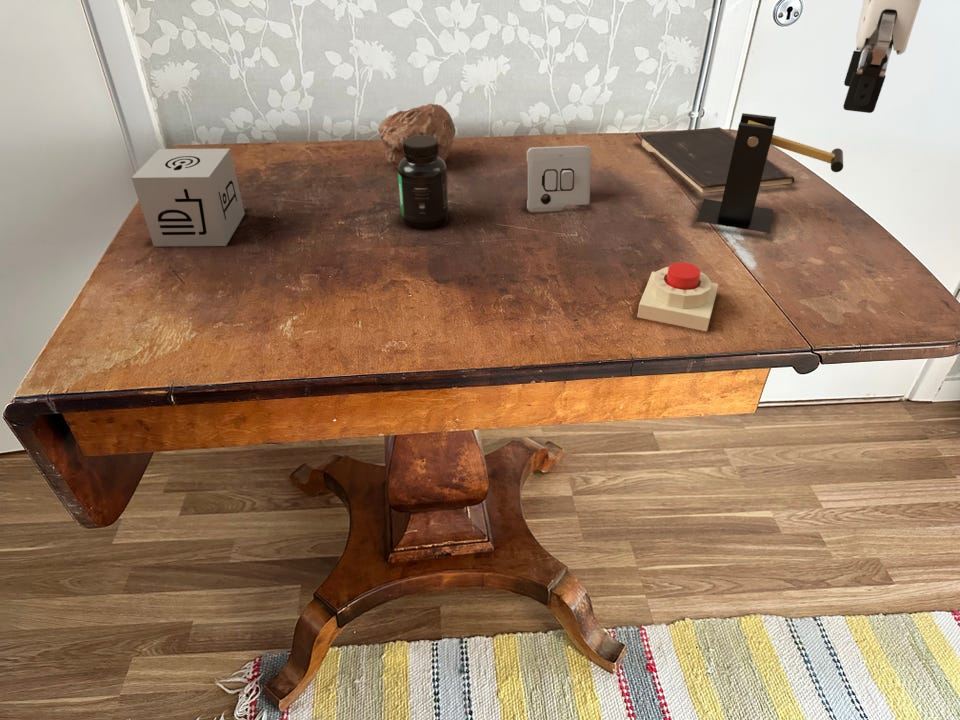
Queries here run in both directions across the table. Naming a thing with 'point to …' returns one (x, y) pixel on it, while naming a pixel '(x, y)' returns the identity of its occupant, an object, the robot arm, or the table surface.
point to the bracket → (744, 179)
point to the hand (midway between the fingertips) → (857, 98)
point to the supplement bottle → (423, 184)
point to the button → (683, 276)
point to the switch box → (678, 302)
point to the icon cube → (189, 197)
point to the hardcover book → (705, 157)
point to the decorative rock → (416, 130)
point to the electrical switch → (558, 177)
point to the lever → (809, 151)
